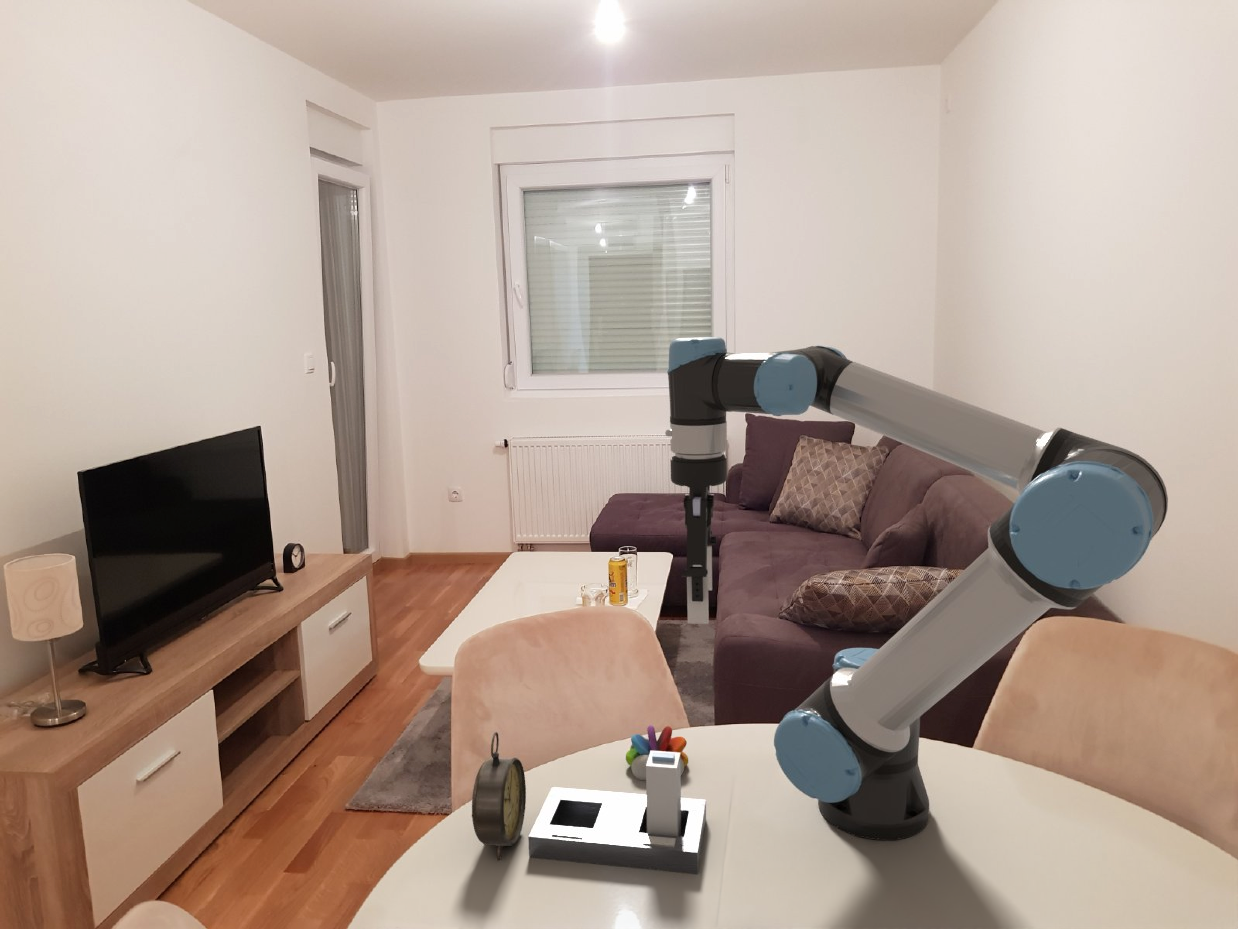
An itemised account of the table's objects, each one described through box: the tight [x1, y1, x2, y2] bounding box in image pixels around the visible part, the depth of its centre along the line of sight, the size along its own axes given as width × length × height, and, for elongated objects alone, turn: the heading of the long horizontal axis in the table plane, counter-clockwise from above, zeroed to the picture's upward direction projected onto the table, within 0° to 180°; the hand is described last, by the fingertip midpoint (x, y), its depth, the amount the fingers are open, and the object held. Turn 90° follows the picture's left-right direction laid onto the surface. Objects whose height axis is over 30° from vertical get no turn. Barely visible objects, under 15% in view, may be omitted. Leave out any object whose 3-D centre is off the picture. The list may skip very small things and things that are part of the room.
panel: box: [528, 786, 707, 875], centre depth 119 cm, size 22×12×4 cm, turn 79°
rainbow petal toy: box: [625, 725, 689, 781], centre depth 137 cm, size 8×10×7 cm
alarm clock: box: [471, 731, 527, 862], centre depth 118 cm, size 11×5×16 cm, turn 171°
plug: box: [645, 751, 682, 837], centre depth 117 cm, size 4×4×13 cm
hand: (700, 605), depth 122 cm, fingers open, 13 cm apart
